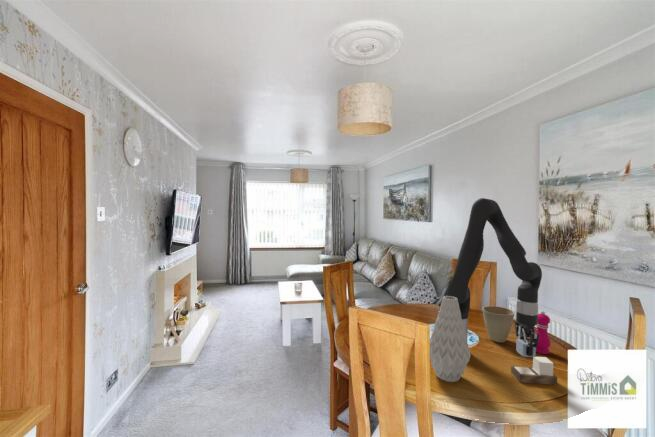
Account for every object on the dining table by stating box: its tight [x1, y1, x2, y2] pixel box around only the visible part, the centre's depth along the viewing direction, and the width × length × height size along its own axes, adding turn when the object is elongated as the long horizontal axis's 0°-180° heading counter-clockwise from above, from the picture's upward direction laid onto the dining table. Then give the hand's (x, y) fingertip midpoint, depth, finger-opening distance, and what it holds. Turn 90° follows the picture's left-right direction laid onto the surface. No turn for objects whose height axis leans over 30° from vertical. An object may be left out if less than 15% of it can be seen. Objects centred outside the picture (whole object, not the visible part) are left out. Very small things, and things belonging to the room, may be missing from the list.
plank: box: [510, 365, 558, 385], centre depth 126 cm, size 14×7×3 cm, turn 84°
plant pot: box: [482, 305, 516, 343], centre depth 163 cm, size 15×15×16 cm
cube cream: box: [532, 356, 554, 376], centre depth 126 cm, size 5×5×5 cm
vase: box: [429, 295, 471, 383], centre depth 126 cm, size 17×17×33 cm
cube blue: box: [515, 338, 537, 358], centre depth 126 cm, size 5×5×5 cm
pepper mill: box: [535, 310, 552, 355], centre depth 151 cm, size 7×7×20 cm
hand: (525, 352), depth 126 cm, fingers closed on cube blue, 5 cm apart
